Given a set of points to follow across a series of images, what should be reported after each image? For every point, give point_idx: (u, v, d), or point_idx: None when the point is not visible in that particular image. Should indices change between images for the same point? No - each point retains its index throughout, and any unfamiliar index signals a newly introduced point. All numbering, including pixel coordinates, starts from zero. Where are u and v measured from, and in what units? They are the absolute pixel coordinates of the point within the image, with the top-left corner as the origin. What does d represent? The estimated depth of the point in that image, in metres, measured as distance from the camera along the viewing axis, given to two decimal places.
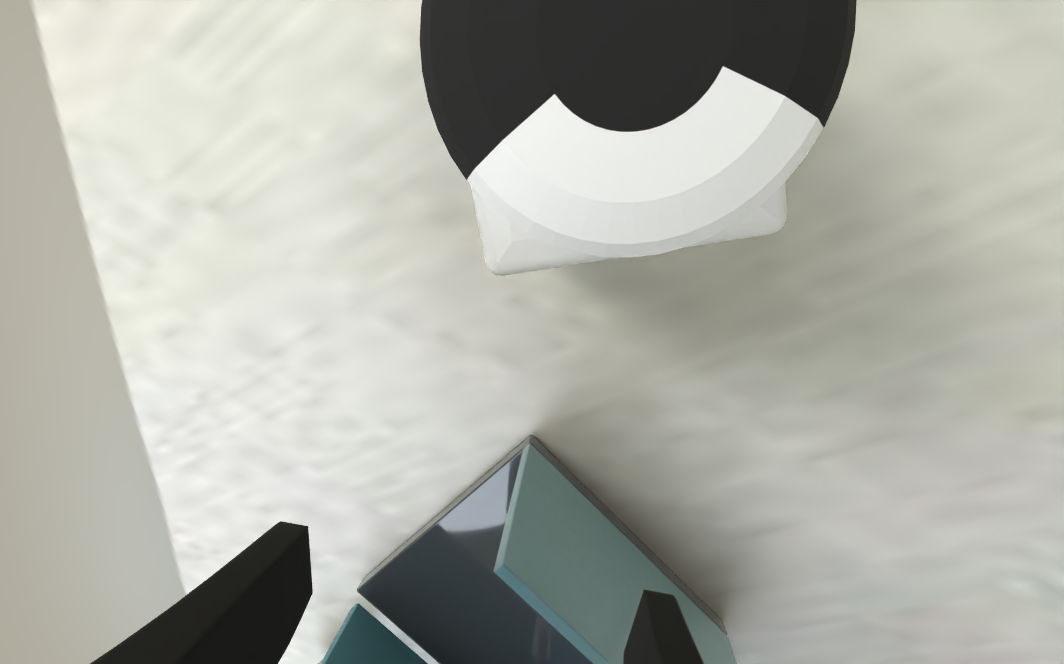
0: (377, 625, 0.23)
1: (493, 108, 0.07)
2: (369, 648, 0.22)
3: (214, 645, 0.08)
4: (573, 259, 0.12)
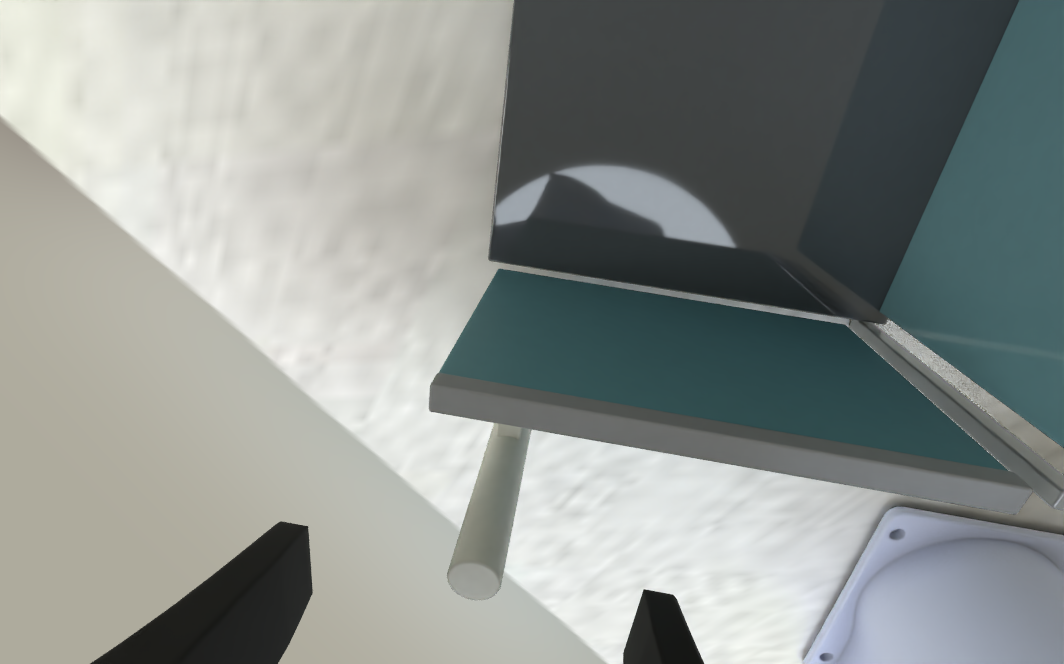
0: (539, 277, 0.16)
1: None
2: (540, 290, 0.14)
3: (214, 645, 0.08)
4: None
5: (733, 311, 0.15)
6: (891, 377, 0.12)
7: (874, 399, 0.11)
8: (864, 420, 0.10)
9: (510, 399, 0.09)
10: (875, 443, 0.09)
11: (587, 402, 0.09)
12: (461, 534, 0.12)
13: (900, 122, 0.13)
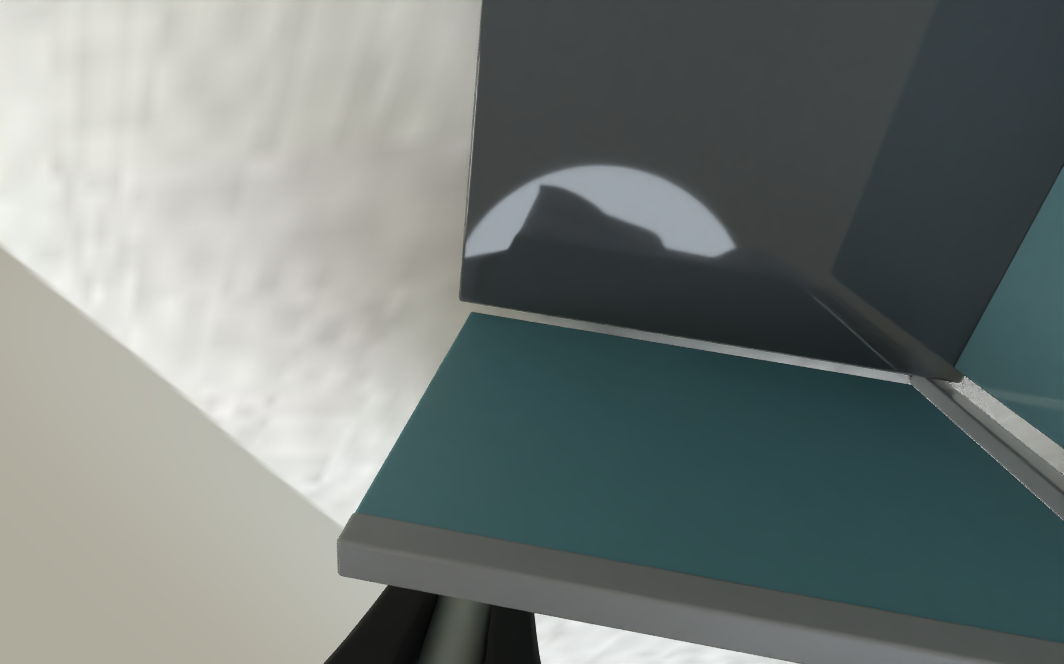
0: (523, 323, 0.12)
1: None
2: (522, 344, 0.11)
3: None
4: None
5: (769, 368, 0.12)
6: (997, 476, 0.09)
7: (988, 523, 0.08)
8: (989, 570, 0.07)
9: (461, 563, 0.06)
10: (1020, 623, 0.06)
11: (580, 563, 0.06)
12: None
13: (997, 128, 0.10)
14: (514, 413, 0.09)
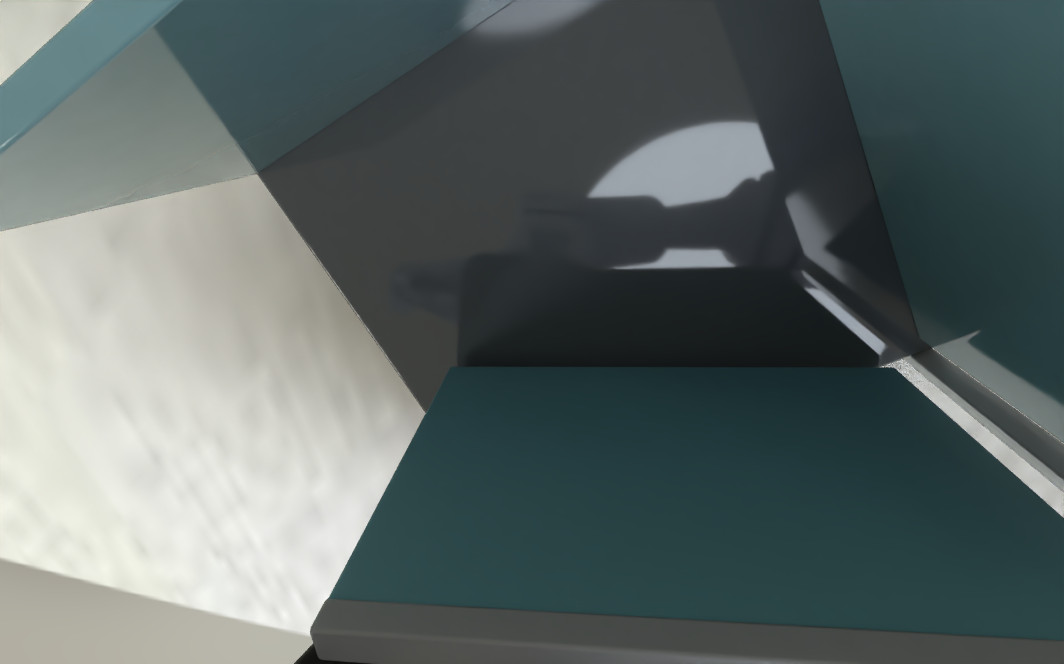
0: (499, 370, 0.13)
1: None
2: (496, 394, 0.12)
3: None
4: None
5: (744, 375, 0.12)
6: (973, 458, 0.09)
7: (957, 513, 0.08)
8: (951, 566, 0.07)
9: (422, 636, 0.06)
10: (977, 621, 0.06)
11: (534, 619, 0.07)
12: None
13: (782, 168, 0.11)
14: (483, 470, 0.09)
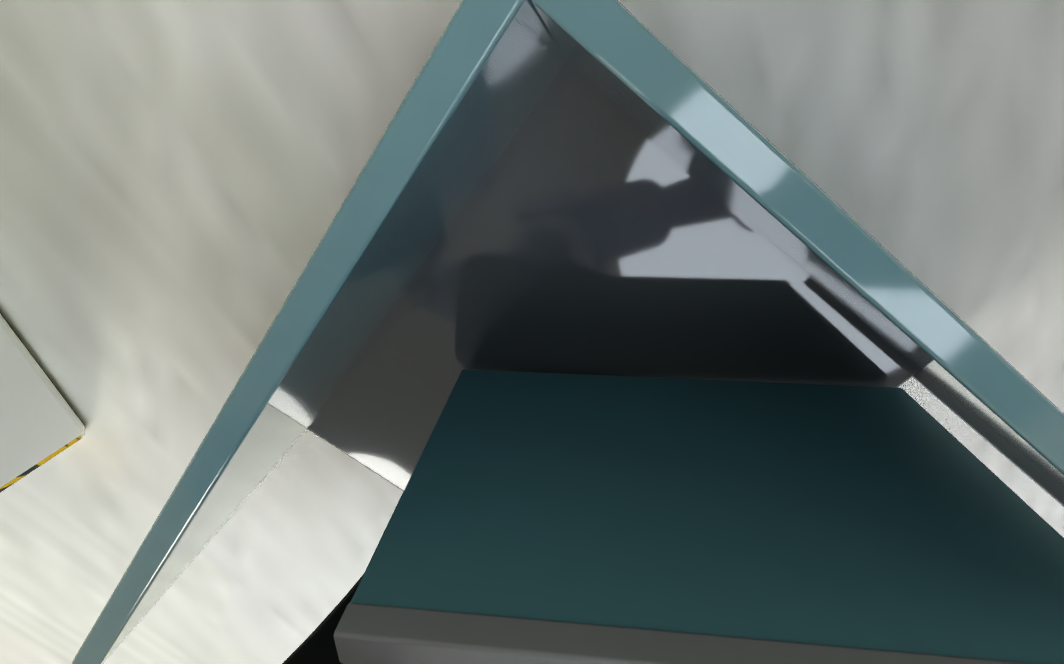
0: (511, 375, 0.13)
1: None
2: (509, 399, 0.12)
3: None
4: None
5: (754, 390, 0.12)
6: (982, 482, 0.09)
7: (969, 536, 0.08)
8: (964, 589, 0.07)
9: (446, 643, 0.06)
10: (992, 644, 0.06)
11: (558, 631, 0.07)
12: None
13: (707, 277, 0.12)
14: (500, 476, 0.09)
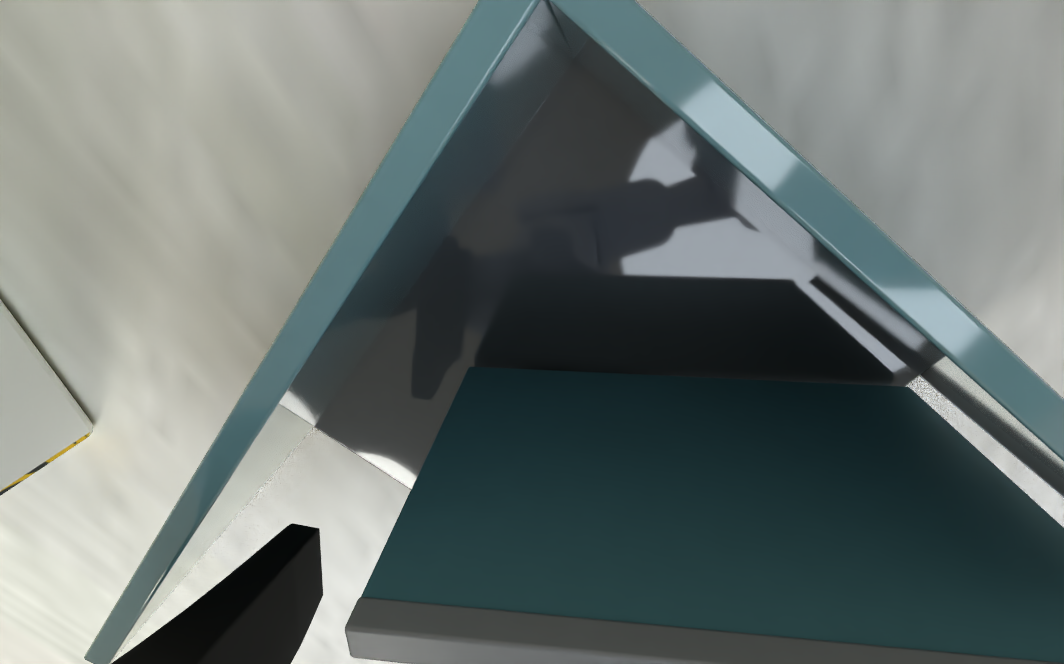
0: (518, 372, 0.13)
1: None
2: (517, 396, 0.12)
3: (228, 648, 0.08)
4: None
5: (761, 388, 0.12)
6: (991, 481, 0.09)
7: (978, 535, 0.08)
8: (974, 587, 0.07)
9: (457, 637, 0.07)
10: (1002, 643, 0.06)
11: (568, 625, 0.07)
12: None
13: (714, 276, 0.12)
14: (508, 473, 0.09)
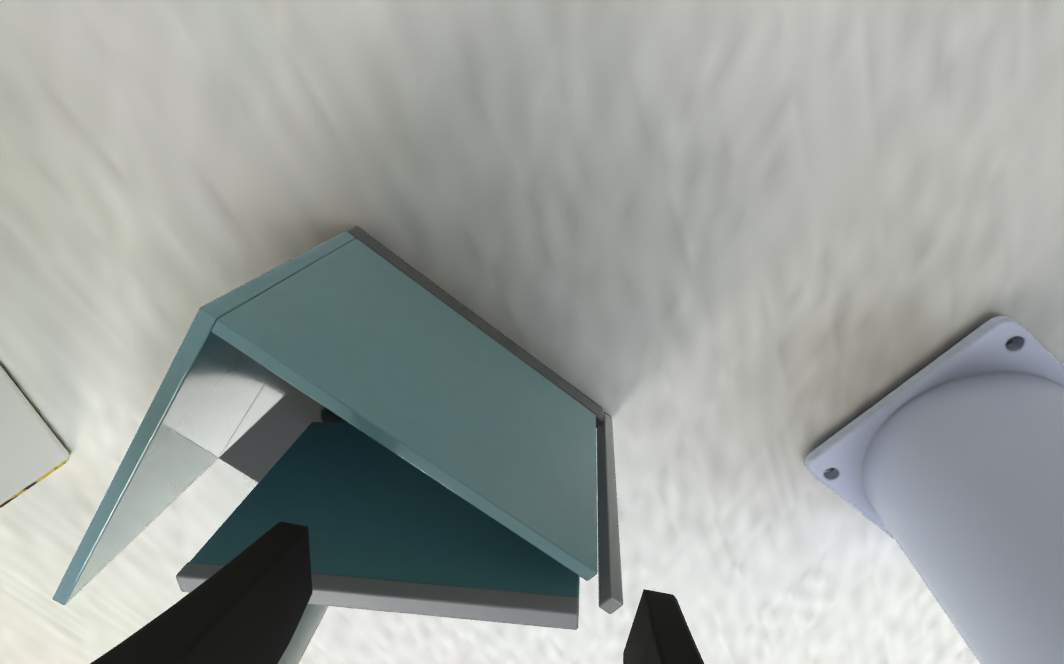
0: (341, 426, 0.20)
1: None
2: (330, 444, 0.19)
3: (214, 645, 0.08)
4: None
5: None
6: None
7: None
8: (500, 557, 0.14)
9: None
10: (489, 582, 0.13)
11: None
12: None
13: None
14: (298, 495, 0.16)
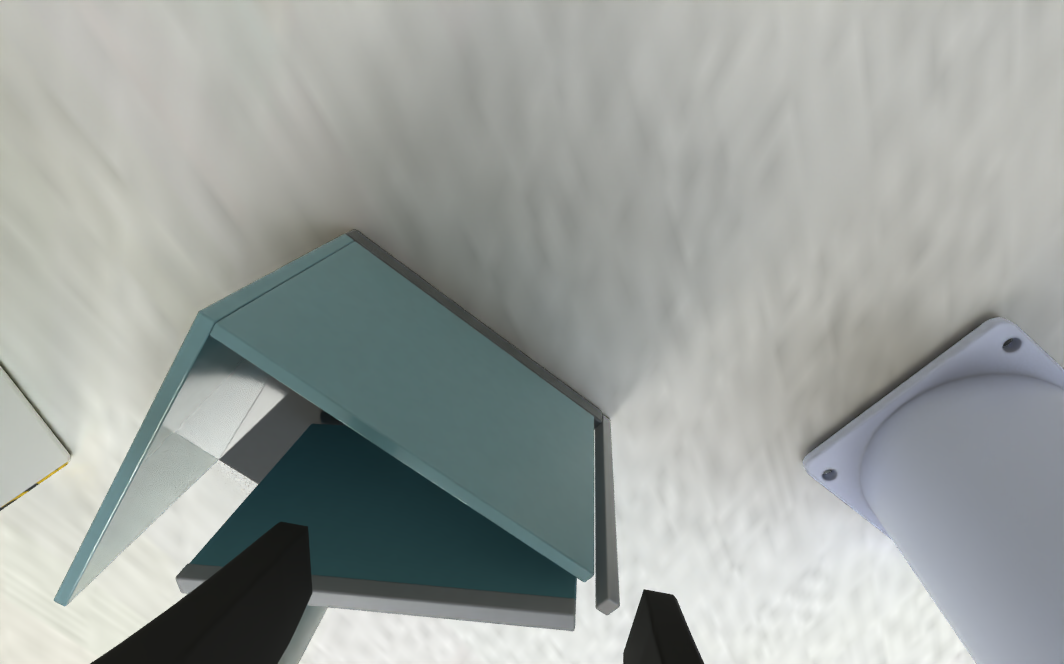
0: (340, 428, 0.20)
1: None
2: (330, 446, 0.19)
3: (214, 645, 0.08)
4: None
5: None
6: None
7: None
8: (498, 559, 0.14)
9: None
10: (486, 584, 0.13)
11: None
12: None
13: None
14: (297, 497, 0.16)
